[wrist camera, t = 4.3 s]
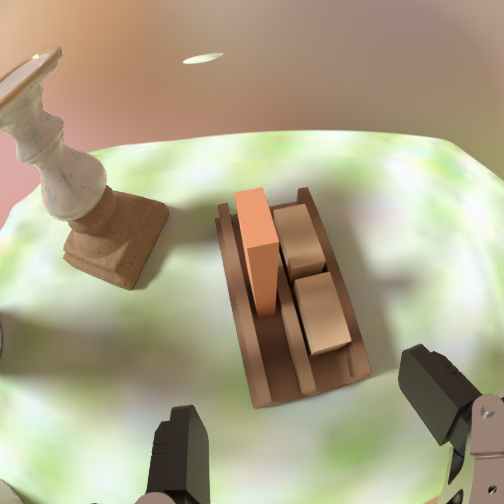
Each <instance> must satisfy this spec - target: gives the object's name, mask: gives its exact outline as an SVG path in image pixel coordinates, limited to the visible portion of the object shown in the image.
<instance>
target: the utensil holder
mask: <svg viewBox="0 0 504 504" xmlns="http://www.w3.org/2000/svg"><path fill="white" fill-rule="evenodd" d="M0 504H24V503H23V502H22V500H21V499H20V498H19V497H18V495H17V494H16V493H15V492H14V491H13V490H12V488H11V487H10V486H9V485H7V484H6V483H5V482H4V481H2V480H1V479H0Z"/></svg>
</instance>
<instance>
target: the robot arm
mask: <svg viewBox="0 0 504 504" xmlns="http://www.w3.org/2000/svg"><path fill="white" fill-rule="evenodd" d="M1 345H2V335H1V328H0V352H1ZM398 382H399V387H400V389H401V391H402V393H403V394H404V395H405V397H406V398H407V399H408V401H409V402H410V404H411V405H412V407H413V408H414V409H415V411H416V412H417V414H418V415H419V416H420V418H421V419H422V421H423V422H424V424H425V425H426V426H427V428H428V429H429V431H430V432H431V434H432V435H433V437H434V438H435V439H436V441H437V442H438V444H439V445H440V446H442V445H443V444H445V443H447V442H448V441H450V443H451V444H452V446H451V449H450V455H449V461H448V467H447V473H446V478H445V483H444V487H443V490H442V493H441V495H440V497H439V499H438V501H437V504H504V397H503V398H499V397H497V396H495V395H492V394H486V395H482V394H481V393H480V392H479V391H478V390H477V389H476V388H475V387H474V386H473V384H472V383H471V382H470V381H469V380H468V379H467V378H466V377H465V376H464V375H463V374H462V373H461V372H459V370H458V369H457V368H456V367H455V366H453V365H452V363H451V362H450V361H449V360H448V359H447V358H446V357H445V356H443V355H441V354H439V353H437V352H435V351H433V352H431V353H430V352H429V351H428V350H427V348H426V347H425V346H423V345H422V344H418V345H416V346H413V347H411V348H409V349H406V350H404V351H403V352H402V357H401V363H400V370H399V376H398ZM153 445H154V446H153V448H152V456H151V462H150V469H149V476H148V484H147V490H146V493H145V495H143V496H141V497H140V498H139V499H138V500H137V501H136V503H135V504H210V483H209V441H208V435H207V431H206V429H205V427H204V425H203V423H202V421H201V419H200V417H199V415H198V413H197V411H196V409H195V407H194V406H193V405H187V406H178V407H173V408H172V410H171V417H170V421H163V422H161V424H160V425H159V427H158V428H157V430H156V431H155V435H154V442H153ZM93 504H95V503H93Z"/></svg>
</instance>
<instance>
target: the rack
mask: <svg viewBox="0 0 504 504" xmlns="http://www.w3.org/2000/svg"><path fill="white" fill-rule="evenodd" d="M301 204H305V205H306V208H307V210H308V213H309V216H310V218H311V221H312V224H313V226H314V229H315V232H316V234H317V237H318V240H319V243H320V245H321V248H322V251H323V254H324V257H325V260H326V262H325V264H324V267H323V269H322V272H321V274H322V273H326V272H330V274H331V277H332V280H333V283H334V286H335V289H336V292H337V295H338V298H339V301H340V304H341V308H342V311H343V314H344V317H345V320H346V324H347V327H348V330H349V334H350V337H351V340H352V341H350V342H349V343H347V344H346V345H344V346H342V347H341V348H339V349H336V350H333V351H329V352H326V353H323V354H319V355H315V356H312V357H308V355H307V351H306V348H305V344H304V340H303V336H302V333H301V329H300V325H299V321H298V318H297V314H296V310H295V307H294V303H293V300H292V292H293V287H294V286H292V287H289V285H288V282H287V278H286V275H285V271H284V267H283V264H282V260H281V257H280V254H279V255H278V273H277V289H276V304H275V314H273V315H269V316H264V317H260V318H258V316H257V311H256V307H255V303H254V298H253V294H252V290H251V285H250V280H249V275H248V269H247V263H246V258H245V252H244V247H243V241H242V235H241V230H240V224H239V218H238V214H234V215H230V213H229V208H228V204H227V203H225V204H220V205H218V210H219V215H220V218H216V219H215V222H216V228H217V233H218V239H219V244H220V250H221V255H222V260H223V266H224V271H225V276H226V281H227V286H228V291H229V296H230V301H231V306H232V311H233V316H234V321H235V326H236V331H237V336H238V340H239V345H240V350H241V354H242V359H243V364H244V368H245V373H246V377H247V382H248V386H249V390H250V395H251V399H252V404H253V408H254V409H257V408H261V407H266V406H271V405H275V404H279V403H284V402H288V401H292V400H296V399H300V398H303V397H307V396H311V395H314V394H318V393H321V392H325V391H328V390H331V389H335V388H338V387H341V386H344V385H347V384H350V383H353V382H356V381H359V380H362V379H364V378H367V377H370V376H371V375H370V373H371V369H370V365H369V362H368V358H367V354H366V351H365V348H364V344H363V341H362V337H361V334H360V331H359V327H358V324H357V321H356V318H355V315H354V312H353V308H352V305H351V302H350V299H349V296H348V293H347V290H346V287H345V284H344V281H343V279H342V276H341V273H340V270H339V267H338V264H337V262H336V259H335V256H334V253H333V251H332V248H331V245H330V243H329V240H328V237H327V235H326V232H325V229H324V227H323V224H322V222H321V219H320V217H319V214H318V212H317V209H316V207H315V204H314V202H313V199H312V197H311V194H310V192H309V190H308V187H305V188H300V189H298V196H297V202H293V203H288V204H283V205H278V206H273V207H269V209H270V213H271V216H272V219H273V222H274V210H276V209H281V208H286V207H291V206H296V205H301Z"/></svg>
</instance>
